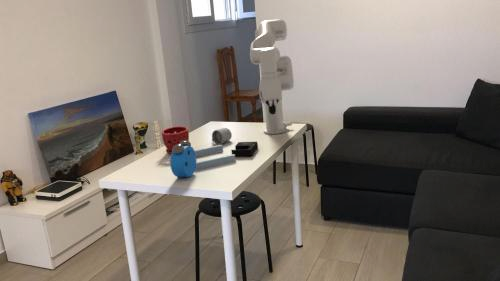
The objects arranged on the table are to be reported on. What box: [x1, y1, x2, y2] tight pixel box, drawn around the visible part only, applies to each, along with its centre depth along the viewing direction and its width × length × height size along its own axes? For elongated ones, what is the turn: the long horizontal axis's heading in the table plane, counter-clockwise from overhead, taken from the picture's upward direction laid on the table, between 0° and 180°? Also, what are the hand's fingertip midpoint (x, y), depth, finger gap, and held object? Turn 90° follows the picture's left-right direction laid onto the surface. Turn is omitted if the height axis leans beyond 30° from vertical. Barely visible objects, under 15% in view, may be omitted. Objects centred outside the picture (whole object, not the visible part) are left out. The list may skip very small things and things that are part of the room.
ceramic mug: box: [211, 127, 232, 146], centre depth 237 cm, size 11×8×8 cm
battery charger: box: [231, 141, 259, 158], centre depth 215 cm, size 13×10×4 cm
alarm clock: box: [169, 140, 197, 179], centre depth 190 cm, size 13×6×15 cm, turn 163°
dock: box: [194, 144, 237, 170], centre depth 210 cm, size 18×20×3 cm
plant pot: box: [161, 125, 190, 156], centre depth 226 cm, size 13×13×12 cm
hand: (272, 113), depth 217 cm, fingers closed
